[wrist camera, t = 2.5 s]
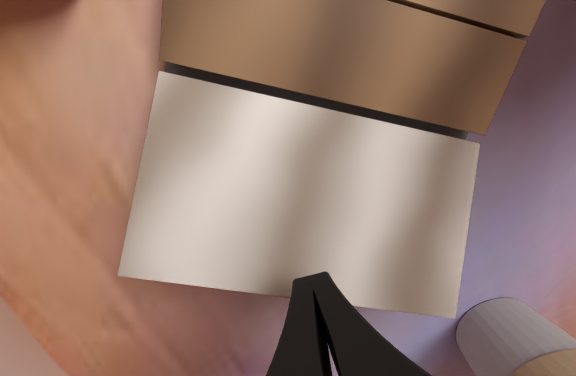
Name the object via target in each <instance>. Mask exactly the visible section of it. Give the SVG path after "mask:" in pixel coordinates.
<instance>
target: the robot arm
mask: <svg viewBox="0 0 576 376" xmlns="http://www.w3.org/2000/svg"><path fill="white" fill-rule="evenodd" d="M327 343H328V344H327ZM328 346H329V349H330V352H331V355H332V358H333V361H334V364H335V367H336V370H337V372H338V375H339V376H431V375H430V374H429V373H427V372H426V371H425V370H423V369H422V368H421V367H419V366H418V365H417V364H415V363H414V362H412V361H411V360H410V359H409V358H407V357H406V356H405V355H404V354H403V353H401V352H400V351H399V350H398V349H396V348H395V347H394V346H393V345H392V344H391V343H389V342H388V341H387V340H386V339H385V338H384V337H383V336H382V335H381V334H379V333H378V332H377V331H376V330H375V329H374V328H373V327H372V326H371V325H370V324H369V323H368V322H367V321H366V320H365V319H364V318H363V317H362V316H361V315H360V313H359V312H358V311H357V310H356V309H355V308H354V307H353V306H352V304H351V303H350V302H349V301H348V300H347V299H346V297H345V296H344V295H343V294H342V292H341V291H340V290H339V288H338V287H337V286H336V284H335V283H334V281H333V280H332V278H331V276H330V274H329V273H328V272H326V271H324V272H321V273H317V274H313V275H309V276H305V277H301V278H297V279H294V281H293V282H292V292H291V298H290V303H289V308H288V312H287V316H286V320H285V324H284V327H283V330H282V334H281V337H280V340H279V343H278V346H277V349H276V352H275V354H274V357H273V360H272V362H271V365H270V367H269V369H268V372H267V374H266V376H332V371H331V364H330V357H329V350H328Z"/></svg>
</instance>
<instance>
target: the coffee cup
mask: <svg viewBox="0 0 576 376" xmlns="http://www.w3.org/2000/svg"><path fill="white" fill-rule="evenodd" d="M456 342H457V345H458V347H459V349H460V350H461V352H462V354H463V356H464V357H465V359H466V361H467V362H468V364H469V366H470V367H471V369H472V371H473V373H474V374H475V376H576V339H575V338H573V337H572V336H570V335H569V334H568V333H566V332H565V331H563V330H562V329H560V328H559V327H558V326H556V325H555V324H553V323H552V322H551V321H549V320H548V319H546V318H545V317H543V316H542V315H541V314H539V313H538V312H536V311H535V310H533V309H532V308H531V307H529V306H528V305H526V304H525V303H523V302H521V301H519V300H517V299H513V298H497V299H492V300H488V301H485V302H483V303H480V304H478V305H476V306H475V307H473V308H472V309H470V310H469V311H468V312H467V313H466V314H465V315H464V316H463V317H462V319H461V320H460V322H459V324H458V327H457V330H456Z"/></svg>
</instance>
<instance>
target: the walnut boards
mask: <svg viewBox="0 0 576 376" xmlns="http://www.w3.org/2000/svg"><path fill="white" fill-rule="evenodd" d="M544 3H545V0H163V5H162V22H161V38H160V55H159V60H162V61H166V62H170V63H175V64H179V65H183V66H187V67H192V68H196V69H200V70H205V71H209V72H213V73H218V74H222V75H226V76H231V77H235V78H239V79H244V80H248V81H252V82H257V83H261V84H265V85H269V86H274V87H278V88H282V89H287V90H291V91H295V92H300V93H304V94H308V95H313V96H317V97H321V98H326V99H330V100H334V101H339V102H343V103H347V104H351V105H356V106H360V107H364V108H369V109H373V110H377V111H382V112H386V113H390V114H395V115H399V116H403V117H408V118H412V119H416V120H421V121H425V122H429V123H433V124H438V125H442V126H446V127H451V128H455V129H459V130H464V131H468V132H472V133H477V134H481V135H485V134H486V132H487V129H488V127H489V125H490V123H491V121H492V118H493V116H494V114H495V112H496V109H497V107H498V105H499V103H500V101H501V98H502V96H503V94H504V92H505V89H506V87H507V85H508V83H509V81H510V78H511V76H512V74H513V72H514V69H515V67H516V65H517V63H518V61H519V58H520V56H521V54H522V52H523V49H524V47H525V45H526V43H527V41H525V40H521V39H518V38H524V37H529V36H530V34H531V32H532V29H533V27H534V25H535V23H536V21H537V18H538V16H539V14H540V12H541V9H542V7H543V5H544Z"/></svg>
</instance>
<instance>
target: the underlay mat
mask: <svg viewBox="0 0 576 376" xmlns="http://www.w3.org/2000/svg"><path fill="white" fill-rule="evenodd" d="M165 72H167V73H171V74H176V75H180V76H184V77H189V78H193V79H198V80H202V81H206V82H211V83H215V84H220V85H224V86H229V87H233V88H237V89H242V90H246V91H251V92H255V93H259V94H264V95H268V96H273V97H277V98H282V99H286V100H290V101H295V102H299V103H304V104H308V105H312V106H317V107H321V108H326V109H330V110H334V111H339V112H343V113H348V114H352V115H357V116H361V117H365V118H370V119H374V120H379V121H383V122H387V123H392V124H396V125H401V126H405V127H409V128H414V129H418V130H423V131H427V132H432V133H436V134H440V135H445V136H449V137H454V138H458V139H462V140H465V139H466V136H467V134H468V131H464V130H459V129H455V128H451V127H446V126H442V125H438V124H433V123H429V122H425V121H421V120H416V119H412V118H408V117H403V116H399V115H395V114H390V113H386V112H382V111H377V110H373V109H369V108H364V107H360V106H356V105H351V104H347V103H343V102H339V101H334V100H330V99H326V98H321V97H317V96H313V95H308V94H304V93H300V92H295V91H291V90H287V89H282V88H278V87H274V86H269V85H265V84H261V83H257V82H252V81H248V80H244V79H239V78H235V77H231V76H226V75H222V74H218V73H213V72H209V71H205V70H200V69H196V68H192V67H187V66H183V65H179V64H175V63H170V62H166V71H165Z"/></svg>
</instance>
